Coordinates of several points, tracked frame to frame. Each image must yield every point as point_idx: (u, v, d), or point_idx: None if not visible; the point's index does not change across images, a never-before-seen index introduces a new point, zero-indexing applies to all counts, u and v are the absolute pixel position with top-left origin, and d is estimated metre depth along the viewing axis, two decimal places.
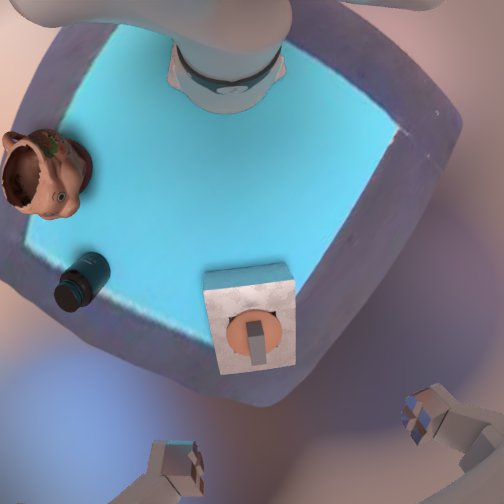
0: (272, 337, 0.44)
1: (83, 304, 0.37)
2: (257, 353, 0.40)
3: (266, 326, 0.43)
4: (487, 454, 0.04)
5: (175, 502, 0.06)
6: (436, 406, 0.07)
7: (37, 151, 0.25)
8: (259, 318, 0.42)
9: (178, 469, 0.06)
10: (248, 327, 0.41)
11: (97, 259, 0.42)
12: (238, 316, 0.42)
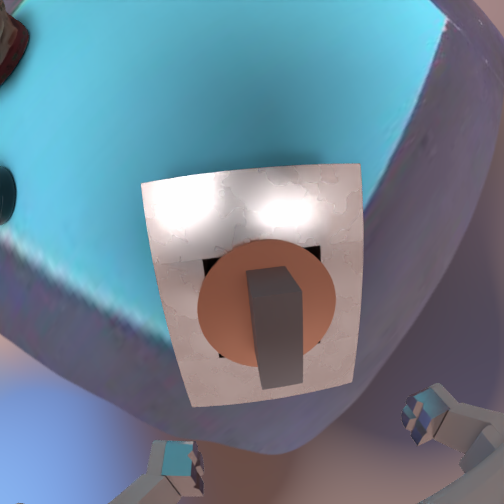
0: (312, 316, 0.18)
1: None
2: (278, 354, 0.14)
3: (298, 285, 0.17)
4: (487, 454, 0.04)
5: (175, 502, 0.06)
6: (436, 406, 0.07)
7: None
8: (282, 261, 0.17)
9: (178, 469, 0.06)
10: (253, 278, 0.15)
11: None
12: (226, 254, 0.17)
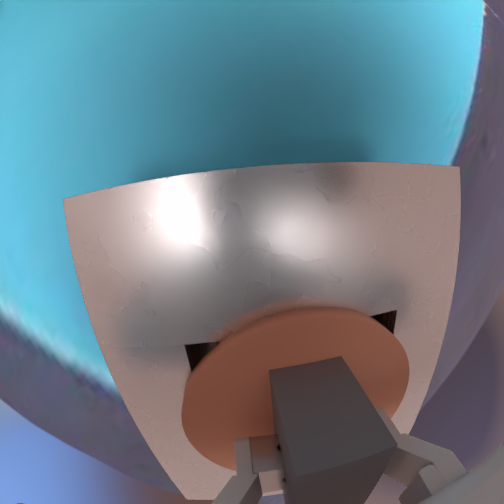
0: None
1: None
2: None
3: (358, 380, 0.09)
4: (424, 497, 0.04)
5: (258, 500, 0.06)
6: None
7: None
8: (337, 349, 0.08)
9: (271, 464, 0.06)
10: (288, 401, 0.06)
11: None
12: (231, 342, 0.08)
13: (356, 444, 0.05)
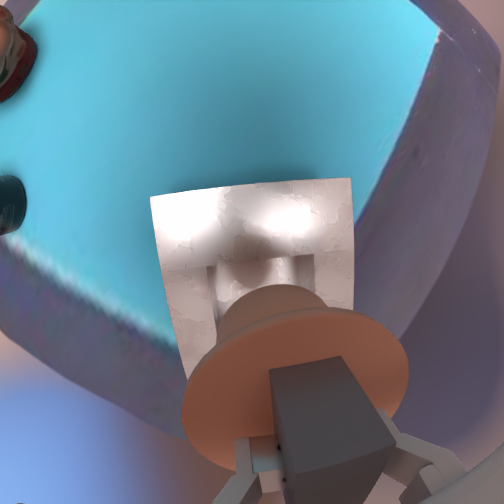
0: None
1: None
2: None
3: (358, 380, 0.09)
4: (423, 497, 0.04)
5: (258, 500, 0.06)
6: None
7: None
8: (336, 348, 0.08)
9: (270, 464, 0.06)
10: (287, 400, 0.07)
11: (8, 179, 0.19)
12: (231, 341, 0.08)
13: (355, 442, 0.05)
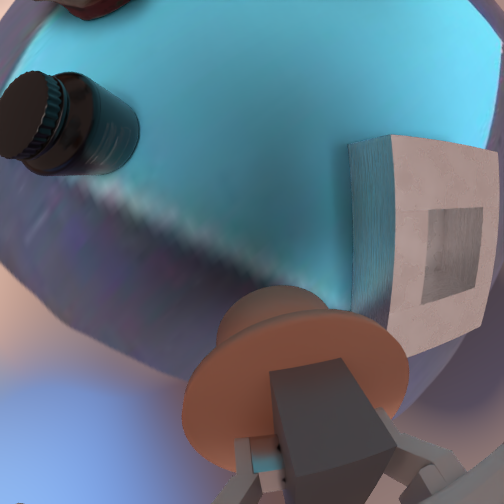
0: None
1: (59, 154, 0.11)
2: None
3: (358, 381, 0.09)
4: (423, 497, 0.04)
5: (258, 500, 0.06)
6: None
7: None
8: (337, 350, 0.08)
9: (271, 464, 0.06)
10: (288, 403, 0.07)
11: None
12: (232, 344, 0.08)
13: (356, 445, 0.05)
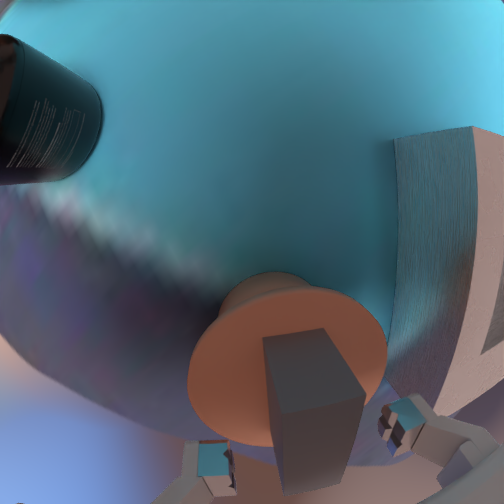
0: None
1: None
2: (313, 466, 0.07)
3: (340, 352, 0.11)
4: (464, 472, 0.04)
5: (208, 503, 0.06)
6: (412, 418, 0.07)
7: None
8: (319, 321, 0.10)
9: (215, 469, 0.06)
10: (277, 360, 0.08)
11: (74, 73, 0.10)
12: (231, 312, 0.10)
13: (331, 392, 0.07)
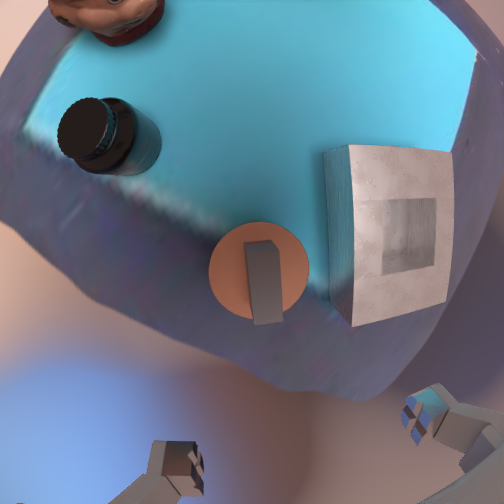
0: (291, 278, 0.25)
1: (110, 158, 0.18)
2: (264, 296, 0.21)
3: (280, 253, 0.25)
4: (487, 454, 0.04)
5: (175, 502, 0.06)
6: (436, 406, 0.07)
7: None
8: (268, 236, 0.24)
9: (178, 469, 0.06)
10: (248, 245, 0.22)
11: None
12: (230, 231, 0.24)
13: (266, 250, 0.21)
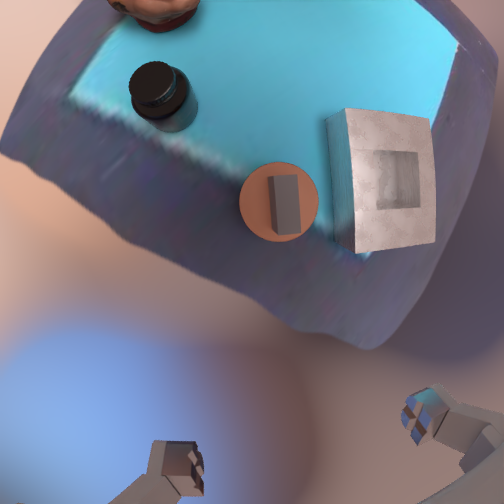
0: (304, 207, 0.31)
1: (168, 107, 0.24)
2: (286, 210, 0.27)
3: None
4: (487, 454, 0.04)
5: (175, 502, 0.06)
6: (436, 406, 0.07)
7: None
8: (286, 172, 0.30)
9: (178, 469, 0.06)
10: None
11: None
12: None
13: (287, 174, 0.27)
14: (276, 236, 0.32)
